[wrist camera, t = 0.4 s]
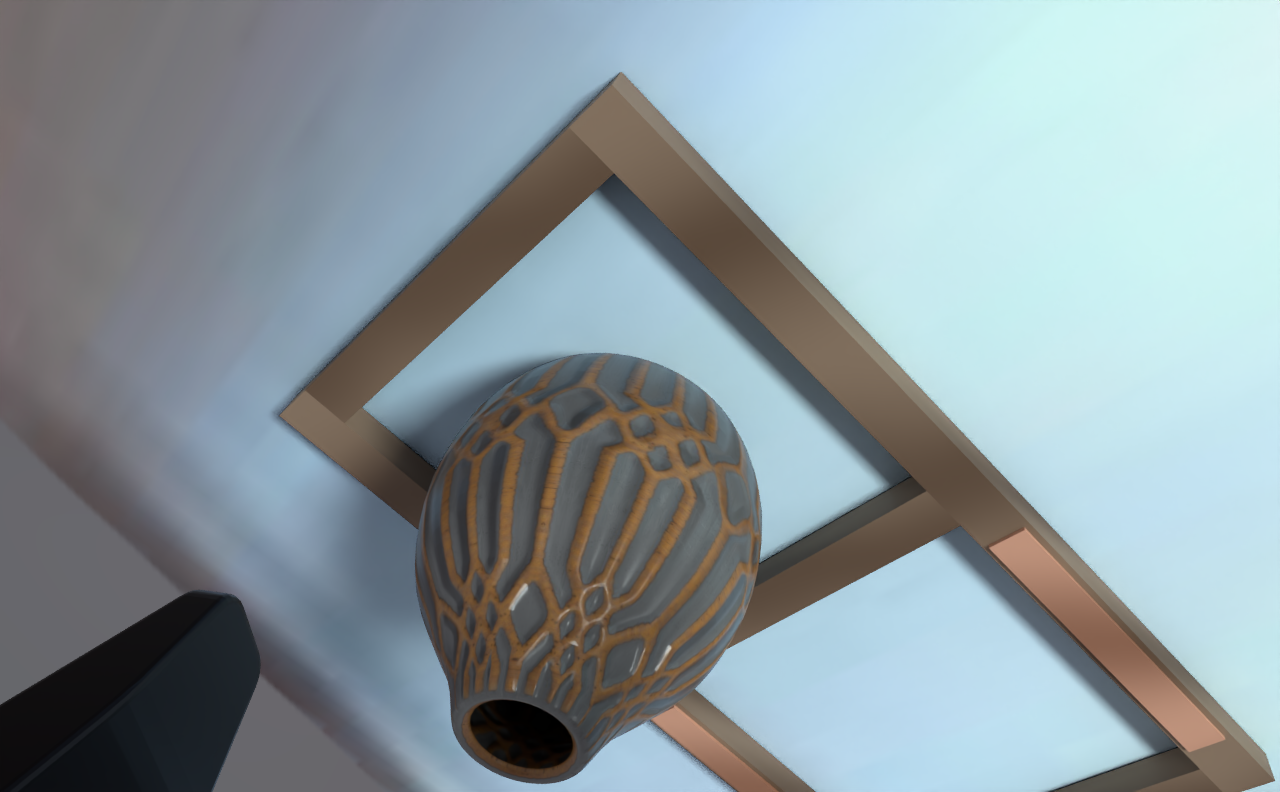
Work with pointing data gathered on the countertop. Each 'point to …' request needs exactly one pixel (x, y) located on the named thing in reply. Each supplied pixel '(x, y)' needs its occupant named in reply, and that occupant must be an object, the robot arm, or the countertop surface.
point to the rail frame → (849, 369)
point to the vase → (584, 559)
